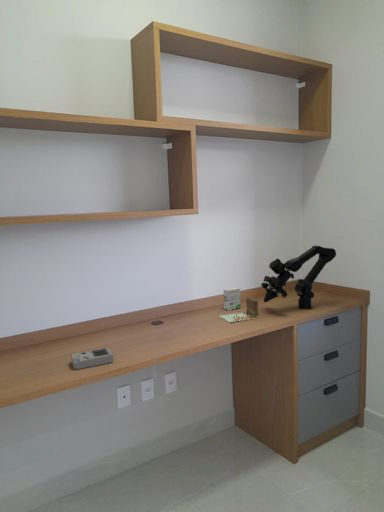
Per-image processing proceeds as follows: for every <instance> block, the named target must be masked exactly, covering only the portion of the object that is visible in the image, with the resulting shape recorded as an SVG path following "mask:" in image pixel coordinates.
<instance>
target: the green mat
mask: <svg viewBox="0 0 384 512" xmlns="http://www.w3.org/2000/svg"><path fill="white" fill-rule="evenodd" d="M238 313H239V314H238ZM243 313H244V312H236V313H229V314H223V315H218V317H219V318H221V319H222V318H223V320H224V319H225V322H227V321H228V322H227V323H229V322H233V320H234V319H236V314H237V317H238V316H239V317H240V318H241V317H243V316H244V318H245V316H246V317H247V313H246V314H245V313H244V314H243ZM234 316H235V318H234V319H233V317H234ZM240 320H241V319H240ZM240 320H239V321H240ZM243 320H244V319H243ZM234 321H235V320H234Z"/></svg>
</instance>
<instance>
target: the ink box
mask: <svg viewBox="0 0 384 512" xmlns="http://www.w3.org/2000/svg"><path fill="white" fill-rule="evenodd" d="M223 308H224V310H226V309H227V310H226V311H233V310H232V309H234V310H237V309H236V308H239V309H241V289H240V288H239V287H231V288H225V289H223Z"/></svg>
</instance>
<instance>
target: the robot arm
mask: <svg viewBox="0 0 384 512" xmlns="http://www.w3.org/2000/svg"><path fill="white" fill-rule="evenodd" d="M317 255H318V259H317V261H316V262H315V263H314V265H313V266H312V268H311V269H310V271H308V273H307V274H306V276H305V277H304V278H303V279H302V278H301V279H298V281H297V282H296V284H295V287H294V291H295V293H296V295H297V296H298V297H299V298H298V299H297V301H298V305H297V306H298V307H299V309H302V308H311V309H312V307H313V306H312V299H313V298H314V297H315V292H313V291H312V288H313V283H314V282H315V281H316V279H317V277H318V276H319V275H320V273H321V272H322V270H323V269H324V267H325V266H326V265H327V264H328V263H330V262H332V261H333V260H334V259H335V257H336V256H337V252H336V249H335V248H333V247H323V246H320V245H313V246H311V248H309V249H308V250H306V251H305V252H303V253H302V254H300V255H299V256H297V257H294V258H291V259H289V260H287V261H286V262H285V263H283V262H282V261H281V259H280V258H276V259H275V260H273V261H271V262H270V263H269V265H268V267H269V269H270V270H271V271H272V272H273V273H274V274H275V275H277V276H273V275H272V276H269V275H264V279H263V282H262V283H260V287H262V288H263V289H264V291H266V292H265V295H264V299H263V303H267V302H269V301H271V300H272V299H276V298H278V297H279V295H281V297H282V298H284V299H286V297H287V296H288V292H287V291H286V290H285V289H284V287H286V286H287V284H286V283H287V282H288V281H289V279H294V278H295V275H294V273H297V272H298V271H299V270H300V269H301V268H302V267H303V265H304V264H305V263H306V262H308V261H309V260H311V259H312V258H314V257H315V256H317ZM292 272H293V273H292Z"/></svg>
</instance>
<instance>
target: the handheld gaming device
mask: <svg viewBox="0 0 384 512" xmlns="http://www.w3.org/2000/svg"><path fill="white" fill-rule="evenodd" d="M70 358H71V359H70V360H71V365H72V367H73V369H74V370H81V369H85V368H91V367H95V366H101V365H105V364H110V363H113V362H114V354H113V353H112V351H111V350H110V348H109V347H104V348H98V349H94V350H87V351H83V352H77V353H73V354H71V355H70Z"/></svg>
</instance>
